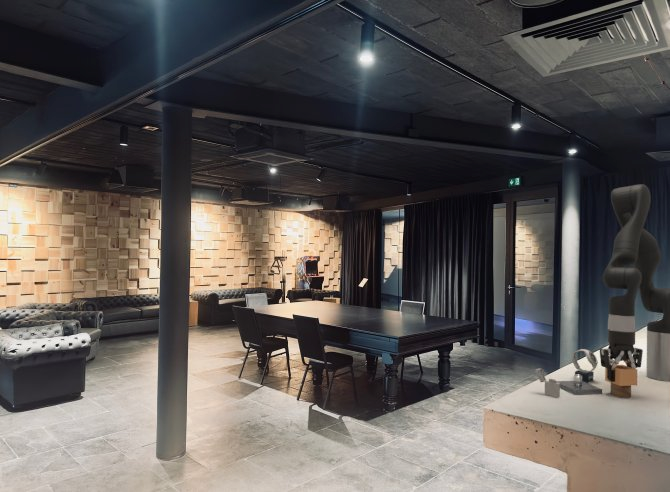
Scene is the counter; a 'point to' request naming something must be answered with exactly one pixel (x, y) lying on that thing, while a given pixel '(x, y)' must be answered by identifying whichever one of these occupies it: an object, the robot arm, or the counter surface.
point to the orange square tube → (624, 376)
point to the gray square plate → (579, 386)
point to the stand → (620, 391)
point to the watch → (586, 375)
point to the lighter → (549, 385)
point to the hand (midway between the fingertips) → (620, 380)
